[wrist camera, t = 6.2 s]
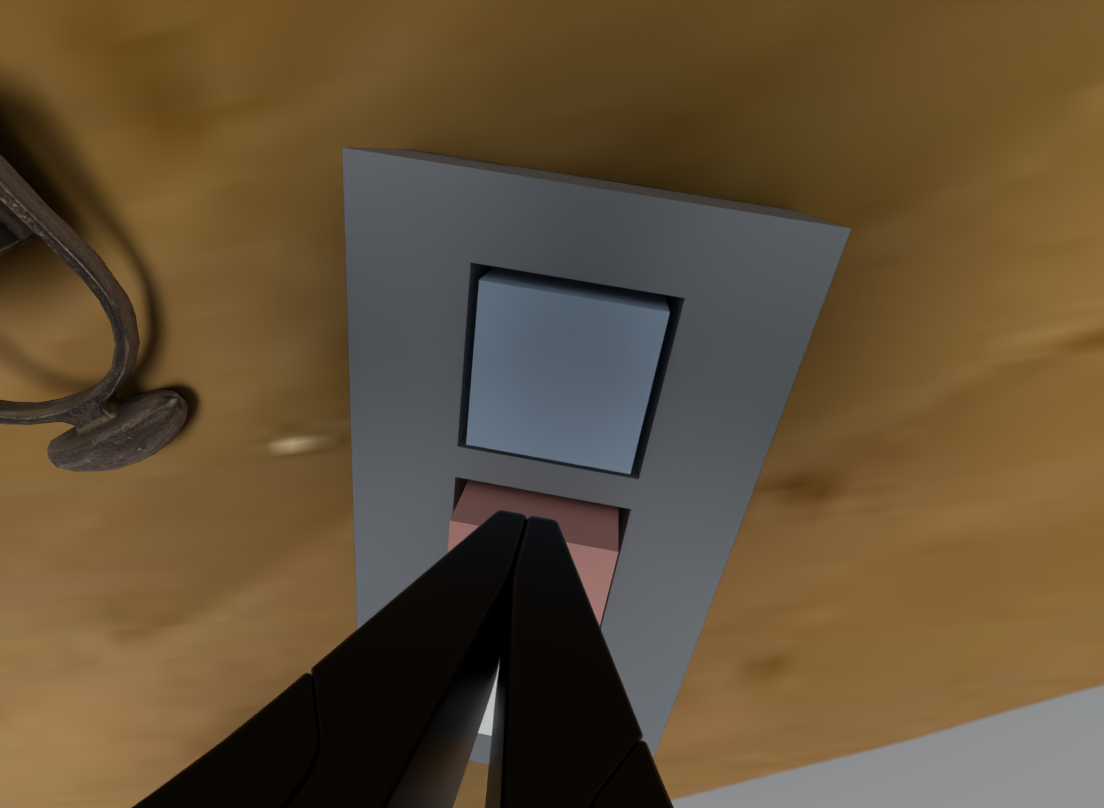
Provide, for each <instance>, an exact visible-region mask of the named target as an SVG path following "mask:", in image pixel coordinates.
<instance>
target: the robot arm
mask: <svg viewBox="0 0 1104 808" xmlns="http://www.w3.org/2000/svg"><path fill="white" fill-rule="evenodd" d="M498 668H499V671H498ZM497 672H498V678H497V686H496V695H495V705H494V715H493V726H492V737H491V748H490V759H489V770H488V781H487V792H486V803H485V808H674V807H673V805H672V803H671V800H670V798H669V796H668V793H667V791H666V789H665V787H664V784H663V782H662V780H661V777H660V775H659V772H658V770H657V767H656V765H655V762H654V760H653V757H652V755H651V752H650V750H649V747H648V745H647V743H646V742H645V741H642V739H643V733H642V731H641V728H640V726H639V723H638V721H637V718H636V716H635V713H634V711H633V708H632V706H631V703H630V701H629V698H628V696H627V693H626V691H625V688H624V686H623V683H622V681H621V678H620V676H619V673H618V671H617V668H616V666H615V663H614V661H613V658H612V656H611V653H610V651H609V648H608V646H607V643H606V641H605V638H604V636H603V633H602V631H601V628H600V626H599V623H598V621H597V618H596V616H595V613H594V611H593V608H592V606H591V603H590V601H589V598H588V596H587V593H586V591H585V588H584V586H583V583H582V581H581V578H580V576H579V573H578V571H577V568H576V566H575V564H574V561H573V559H572V556H571V554H570V551H569V549H568V546H567V544H566V541H565V539H564V536H563V534H562V531H561V529H560V526H559V524H558V522H557V521H556V520H554V519H549V518H544V517H538V516H530V517H529V518H528V519H527V517H526V515H525V514H522V513H517V512H511V511H506V510H499V511H497V512H495V513H494V514H493V515H492V516H491V517H489V518H488V519H487V520H486V521H485V522H483V523H482V524H481V525H480V526H479V527H478V528H476V529H475V530H474V531H473V532H472V533H470V534H469V535H468V536H467V537H466V538H465V539H463V540H462V541H461V542H460V543H459V544H457V545H456V546H455V547H454V548H453V549H452V550H450V551H449V552H448V553H447V554H446V555H445V556H443V557H442V558H441V559H440V560H439V561H437V562H436V563H435V564H434V565H433V566H432V567H430V568H429V569H428V570H427V571H426V572H424V573H423V574H422V575H421V576H420V577H419V578H417V579H416V580H415V581H414V582H413V583H411V584H410V585H409V586H408V587H407V588H406V589H404V590H403V591H402V592H401V593H400V594H398V595H397V596H396V597H395V598H394V599H393V600H391V601H390V602H389V603H388V604H387V605H386V606H384V607H383V608H382V609H381V610H380V611H378V612H377V613H376V614H375V615H374V616H373V617H371V618H370V619H369V620H368V621H367V622H365V623H364V624H363V625H362V626H361V627H360V628H358V629H357V630H356V631H355V632H354V633H352V634H351V635H350V636H349V637H348V638H347V639H345V640H344V641H343V642H342V643H341V644H339V645H338V646H337V647H336V648H335V649H334V650H332V651H331V652H330V653H329V654H328V655H327V656H325V657H324V658H323V659H322V660H321V661H319V662H318V663H317V664H316V665H315V666H314V667H313V668H312V669H311V674H309V673H305V674H303V675H302V676H301V677H300V678H299V679H298V680H296V681H295V682H294V683H293V684H292V685H291V686H289V687H288V688H287V689H286V690H285V691H284V692H282V693H281V694H280V695H279V696H278V697H276V698H275V699H274V700H273V701H272V702H270V703H269V704H268V705H267V706H265V707H264V708H263V709H262V710H260V711H259V712H258V713H257V714H255V715H254V716H253V717H252V718H251V719H249V720H248V721H247V722H246V723H244V724H243V725H242V726H241V727H239V728H238V729H237V730H236V731H234V732H233V733H232V734H231V735H229V736H228V737H227V738H226V739H225V740H223V741H222V742H221V743H219V744H218V745H217V746H215V747H214V748H212V749H211V750H210V751H208V752H207V753H206V754H204V755H203V756H202V757H200V758H199V759H198V760H196V761H195V762H194V763H192V764H191V765H189V766H188V767H187V768H185V769H184V770H183V771H181V772H180V773H179V774H177V775H176V776H175V777H173V778H172V779H171V780H169V781H168V782H166V783H165V784H164V785H162V786H161V787H160V788H158V789H157V790H156V791H154V792H153V793H151V794H150V795H149V796H147V797H146V798H144V799H143V800H142V801H140V802H139V803H137V804H136V805H135V806H133V807H132V808H453V805H454V802H455V799H456V796H457V793H458V790H459V787H460V784H461V781H462V778H463V775H464V772H465V769H466V767H467V764H468V761H469V758H470V755H471V752H472V749H473V746H474V743H475V740H476V737H477V734H478V731H479V728H480V725H481V722H482V719H483V716H484V714H485V711H486V708H487V705H488V702H489V699H490V696H491V693H492V689H493V686H494V683H495V680H496V676H497Z"/></svg>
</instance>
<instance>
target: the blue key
mask: <svg viewBox="0 0 1104 808" xmlns="http://www.w3.org/2000/svg"><path fill="white" fill-rule="evenodd" d="M669 314H670V311H669V308H668V305H667V302H666V299H665V296H664V295H663V294H657V293H651V292H645V291H639V290H633V289H627V288H621V287H615V286H609V285H603V284H597V283H591V282H585V281H579V280H573V279H567V278H561V277H555V276H549V275H543V274H537V273H531V272H525V271H519V270H513V269H507V268H501V267H495V266H494V267H493V268H492V269H491V270H490V271H489V272H488V273H486V274H485V275H484V276H483V277H482V278H481V279H480V280H479V289H478V301H477V314H476V326H475V339H474V351H473V364H472V376H471V389H470V401H469V414H468V427H467V439H466V445H472V446H477V447H483V448H488V449H494V450H499V451H505V452H510V453H516V454H521V455H527V456H533V457H538V458H544V459H549V460H555V461H560V462H566V463H571V464H577V465H582V466H588V467H593V468H599V469H604V470H610V471H616V472H621V473H627V474H630V473H631V469H632V465H633V461H634V457H635V453H636V449H637V444H638V440H639V436H640V432H641V428H642V424H643V420H644V416H645V412H646V408H647V404H648V400H649V396H650V391H651V387H652V383H653V379H654V375H655V371H656V367H657V363H658V359H659V355H660V351H661V347H662V343H663V338H664V334H665V330H666V326H667V322H668V318H669Z"/></svg>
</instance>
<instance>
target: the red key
mask: <svg viewBox="0 0 1104 808" xmlns="http://www.w3.org/2000/svg"><path fill="white" fill-rule="evenodd" d="M499 510H506V511H511V512H517V513H522V514H525V515H526V517H527V519H528V518H529V517H530V516H538V517H544V518H549V519H554V520H556V521H557V522H558V524H559V526H560V529H561V531H562V534H563V536H564V539H565V541H566V544H567V546H568V549H569V551H570V554H571V556H572V559H573V561H574V564H575V566H576V568H577V571H578V573H579V576H580V578H581V581H582V583H583V586H584V588H585V591H586V593H587V596H588V598H589V601H590V603H591V606H592V608H593V611H594V613H595V616H596V618H597V621H598V623H599V626H600V623H601V619H602V615H603V611H604V607H605V603H606V599H607V595H608V591H609V587H610V583H611V580H612V576H613V572H614V568H615V564H616V560H617V556H618V507H616V506H611V505H606V504H600V503H595V502H589V501H584V500H578V499H573V498H567V497H562V496H556V495H551V494H546V493H540V492H535V491H529V490H524V489H518V488H513V487H507V486H502V485H496V484H491V483H486V482H480V481H475V480H468V482H467V484H466V486H465V489H464V491H463V493H462V495H461V497H460V499H459V502H458V504H457V506H456V508H455V510H454V513H453V515H452V517H451V519H450V525H449V540H448V552H449V551H450V550H452V549H453V548H454V547H455V546H456V545H457V544H459V543H460V542H461V541H462V540H463V539H465V538H466V537H467V536H468V535H469V534H470V533H472V532H473V531H474V530H475V529H476V528H478V527H479V526H480V525H481V524H482V523H483V522H485V521H486V520H487V519H488V518H489V517H491V516H492V515H493V514H494V513H495V512H497V511H499Z"/></svg>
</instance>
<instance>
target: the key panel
mask: <svg viewBox="0 0 1104 808" xmlns="http://www.w3.org/2000/svg"><path fill="white" fill-rule="evenodd" d="M342 154H343V186H344V219H345V251H346V283H347V316H348V348H349V381H350V413H351V446H352V478H353V510H354V543H355V575H356V608H357V629H358V628H360V627H361V626H362V625H363V624H364V623H365V622H367V621H368V620H369V619H370V618H371V617H373V616H374V615H375V614H376V613H377V612H378V611H380V610H381V609H382V608H383V607H384V606H386V605H387V604H388V603H389V602H390V601H391V600H393V599H394V598H395V597H396V596H397V595H398V594H400V593H401V592H402V591H403V590H404V589H406V588H407V587H408V586H409V585H410V584H411V583H413V582H414V581H415V580H416V579H417V578H419V577H420V576H421V575H422V574H423V573H424V572H426V571H427V570H428V569H429V568H430V567H432V566H433V565H434V564H435V563H436V562H437V561H439V560H440V559H441V558H442V557H443V556H445V555H446V554H447V553H448V540H449V525H450V519H451V517H452V515H453V513H454V510H455V508H456V506H457V504H458V502H459V499H460V497H461V495H462V493H463V491H464V489H465V486H466V484H467V482H468V480H475V481H480V482H486V483H491V484H496V485H502V486H507V487H513V488H518V489H524V490H529V491H535V492H540V493H546V494H551V495H556V496H562V497H567V498H573V499H578V500H584V501H589V502H595V503H600V504H606V505H611V506H616V507H618V556H617V560H616V564H615V568H614V572H613V576H612V580H611V583H610V587H609V591H608V595H607V599H606V603H605V607H604V611H603V615H602V619H601V623H600V628H601V631H602V633H603V636H604V638H605V641H606V643H607V646H608V648H609V651H610V653H611V656H612V658H613V661H614V663H615V666H616V668H617V671H618V673H619V676H620V678H621V681H622V683H623V686H624V688H625V691H626V693H627V696H628V698H629V701H630V703H631V706H632V708H633V711H634V713H635V716H636V718H637V721H638V723H639V726H640V728H641V731H642V733H643V739H642V741H645V742H646V743H647V745H648V747H649V750H650V752H651V755H652V757H653V758H654V755H655V753H656V750H657V747H658V745H659V742H660V739H661V737H662V734H663V731H664V728H665V726H666V723H667V720H668V718H669V715H670V712H671V710H672V707H673V704H674V702H675V699H676V696H677V694H678V691H679V688H680V686H681V683H682V680H683V678H684V675H685V672H686V670H687V667H688V664H689V662H690V659H691V656H692V654H693V651H694V648H695V646H696V643H697V640H698V637H699V635H700V632H701V629H702V627H703V624H704V621H705V619H706V616H707V613H708V611H709V608H710V605H711V603H712V600H713V597H714V595H715V592H716V589H717V587H718V584H719V581H720V579H721V576H722V573H723V571H724V568H725V565H726V563H727V560H728V557H729V555H730V552H731V549H732V546H733V544H734V541H735V538H736V536H737V533H738V530H739V528H740V525H741V522H742V520H743V517H744V514H745V512H746V509H747V506H748V504H749V501H750V498H751V496H752V493H753V490H754V488H755V485H756V482H757V480H758V477H759V474H760V472H761V469H762V466H763V463H764V461H765V458H766V455H767V453H768V450H769V447H770V445H771V442H772V439H773V437H774V434H775V431H776V429H777V426H778V423H779V421H780V418H781V415H782V413H783V410H784V407H785V405H786V402H787V399H788V397H789V394H790V391H791V389H792V386H793V383H794V381H795V378H796V375H797V372H798V370H799V367H800V364H801V362H802V359H803V356H804V354H805V351H806V348H807V346H808V343H809V340H810V338H811V335H812V332H813V330H814V327H815V324H816V322H817V319H818V316H819V314H820V311H821V308H822V306H823V303H824V300H825V298H826V295H827V292H828V290H829V287H830V284H831V281H832V279H833V276H834V273H835V271H836V268H837V265H838V263H839V260H840V257H841V255H842V252H843V249H844V247H845V244H846V241H847V239H848V236H849V233H850V231H851V228H848V227H845V226H842V225H838V224H835V223H832V222H829V221H826V220H823V219H819V218H816V217H813V216H810V215H807V214H803V213H800V212H797V211H794V210H788V209H781V208H775V207H769V206H762V205H756V204H750V203H744V202H737V201H731V200H725V199H718V198H712V197H706V196H699V195H693V194H687V193H680V192H674V191H668V190H662V189H655V188H649V187H643V186H636V185H630V184H624V183H617V182H611V181H605V180H599V179H592V178H586V177H580V176H573V175H567V174H561V173H554V172H548V171H542V170H536V169H529V168H523V167H517V166H510V165H504V164H498V163H491V162H485V161H479V160H472V159H466V158H460V157H454V156H447V155H441V154H435V153H428V152H422V151H416V150H409V149H380V148H343V147H342ZM494 266H495V267H501V268H507V269H513V270H519V271H525V272H531V273H537V274H543V275H549V276H555V277H561V278H567V279H573V280H579V281H585V282H591V283H597V284H603V285H609V286H615V287H621V288H627V289H633V290H639V291H645V292H651V293H657V294H663V295H664V296H665V299H666V302H667V305H668V308H669V311H670V314H669V318H668V322H667V326H666V330H665V334H664V338H663V343H662V347H661V351H660V355H659V359H658V363H657V367H656V371H655V375H654V379H653V383H652V387H651V391H650V396H649V400H648V404H647V408H646V412H645V416H644V420H643V424H642V428H641V432H640V436H639V440H638V444H637V449H636V453H635V457H634V461H633V465H632V469H631V473H630V474H627V473H621V472H616V471H610V470H604V469H599V468H593V467H588V466H582V465H577V464H571V463H566V462H560V461H555V460H549V459H544V458H538V457H533V456H527V455H521V454H516V453H510V452H505V451H499V450H494V449H488V448H483V447H477V446H472V445H466V439H467V427H468V414H469V401H470V389H471V376H472V364H473V351H474V339H475V326H476V314H477V301H478V289H479V280H480V279H481V278H482V277H483V276H484V275H485V274H486V273H488V272H489V271H490V270H491V269H492V268H493V267H494ZM491 737H492V736H490V735H485V734H480V733H478V734H477V737H476V740H475V743H474V746H473V749H472V752H471V755H470V758H469V761H471V762H476V763H481V764H486V765H489V759H490V748H491Z"/></svg>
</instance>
